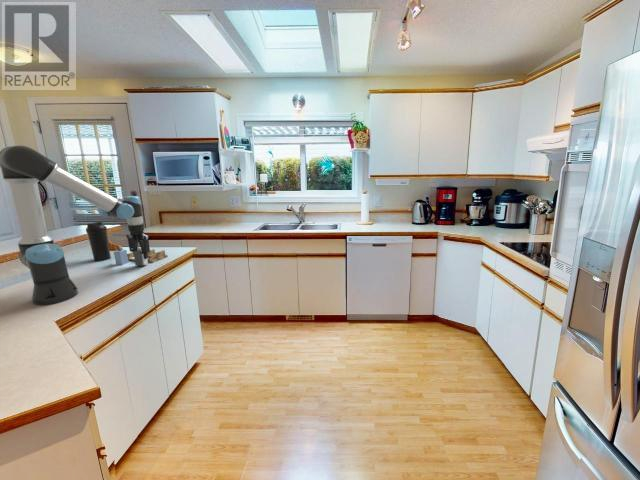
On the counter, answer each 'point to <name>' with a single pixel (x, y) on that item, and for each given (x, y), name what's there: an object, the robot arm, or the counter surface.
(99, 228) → the water bottle
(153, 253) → the slot rack
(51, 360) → the counter surface
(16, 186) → the robot arm
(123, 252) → the plug blue
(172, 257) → the counter surface
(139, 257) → the plug charcoal
